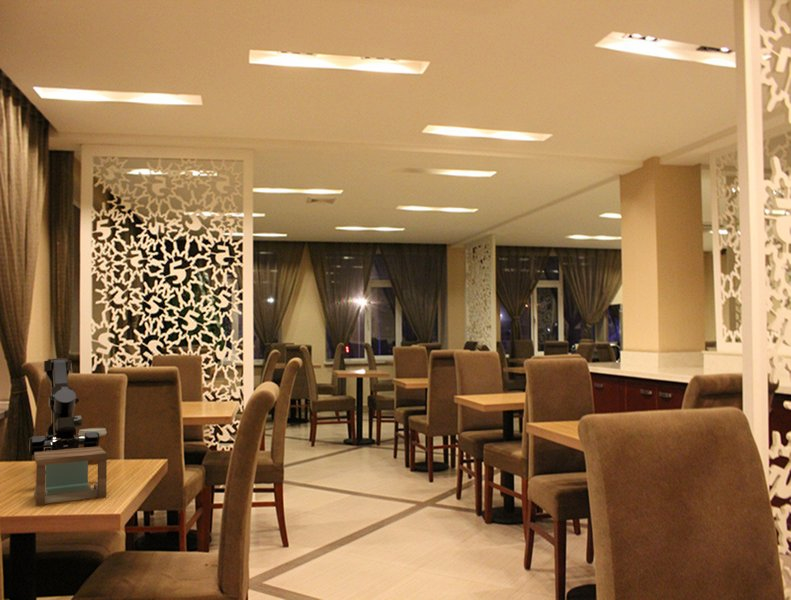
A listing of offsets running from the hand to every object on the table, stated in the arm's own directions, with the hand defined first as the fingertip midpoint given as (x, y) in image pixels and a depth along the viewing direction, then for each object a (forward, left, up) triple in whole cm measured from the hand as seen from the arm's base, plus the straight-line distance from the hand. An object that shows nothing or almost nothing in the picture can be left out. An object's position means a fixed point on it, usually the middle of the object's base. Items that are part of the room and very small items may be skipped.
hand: (66, 465), depth 195 cm
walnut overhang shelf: (+6, -10, -7) cm, 13 cm away
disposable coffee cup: (-13, +44, -7) cm, 46 cm away
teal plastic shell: (+4, -6, -7) cm, 10 cm away
